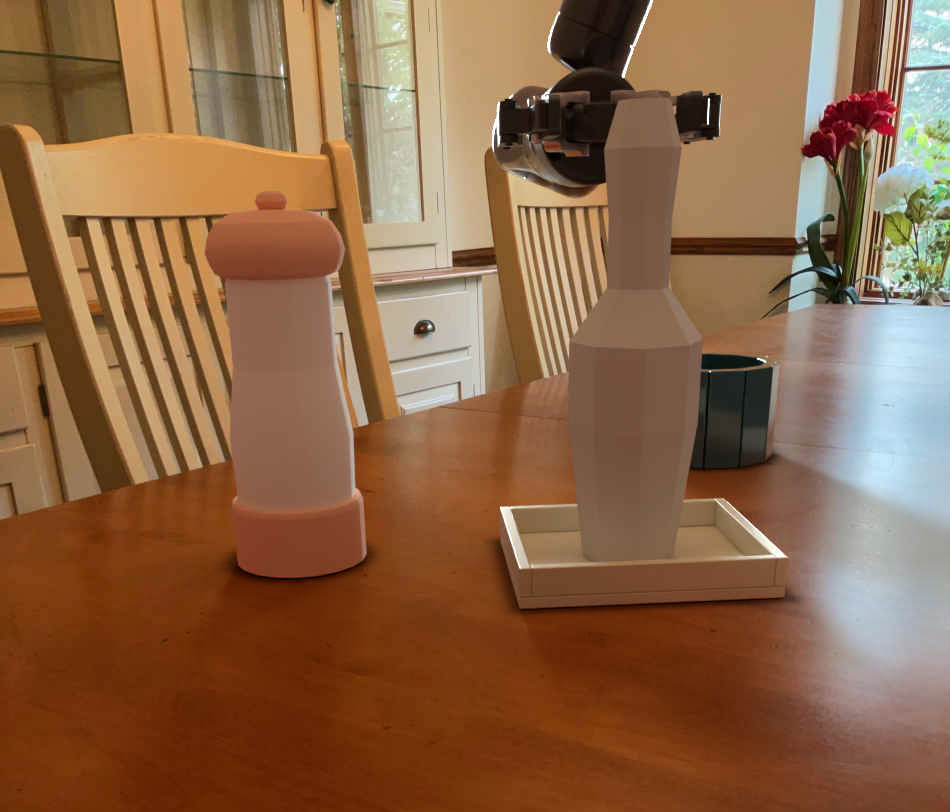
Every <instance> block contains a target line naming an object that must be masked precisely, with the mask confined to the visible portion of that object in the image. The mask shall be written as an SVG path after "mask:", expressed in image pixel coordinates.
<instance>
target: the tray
mask: <svg viewBox="0 0 950 812" xmlns="http://www.w3.org/2000/svg"><path fill="white" fill-rule="evenodd" d="M499 541H500V545H501V549H502V552H503V554H504V555H503V556H504V559H505V563H506V567H507V570H508V574H509V576H510V579H511V584H512V587H513V591H514V594H515V598H516V601H517V604H518V608H519V609H520V610H527V609H528V610H529V609H553V608H572V607H573V608H575V607H597V606H617V605H620V606H621V605H645V604H665V603H687V602H688V603H689V602H691V603H692V602H708V601H709V602H711V601H712V602H713V601H735V600H757V599H779V598H785V594H786V585H787V584H786V583H787V575H788V573H787V572H788V563H789V557H788V556H787V555H786V554H785V553H784V552H782V550H780V549H779V547H777V546H776V545H775V544H774V543H773V542H772V541H770V540H769V539H768V538H767V537H766V536H765V535H764V534H763V533H762V532H761V531H759V529H758V528H756V527H755V526H754V524H752V523H751V522H750V521H749V520H748V519H747V518H746V517H745V516H744V515H743V514H741V513H740V512H739V511H738V510H737V509H736V508H735V507H734V506H732V504H730V502H728V501H727V500H726V499H725V498H724V497H718V498H717V497H715V498H690V499H683V505H682V510H681V516H680V521H679V526H678V532H677V537H676V543H675V548H674V554H673V555H672V556H671V557H670V558H669V559H659V560H635V561H611V562H593V561H591V560H589V559H587V558H585V557H583V553H582V544H581V535H580V526H579V518H578V509H577V503H559V504H537V505H536V504H535V505H533V504H532V505H511V506H509V505H508V506H507V505H506V506H500V507H499Z"/></svg>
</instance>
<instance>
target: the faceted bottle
mask: <svg viewBox="0 0 950 812" xmlns="http://www.w3.org/2000/svg"><path fill="white" fill-rule="evenodd" d="M674 110H675V109H674V106H672V101H671V99H667V98H636V99H626V100H620V101H618V104H617V107H616V110H615V114H614V117H613V121H612V124H611V128H610V131H609V135H608V138H607V141H606V145H605V148H604V155H605V170H606V183H605V184H606V198H607V199H606V201H607V214H608V224H607V225H608V226H607V227H608V229H607V265H606V266H607V268H606V269H607V270H606V289H605V290H604V291H603V293H602V295H601V296H600V297H599V299H597V301H596V303H595V304H594V306H593V307H592V309H591V310H590V311H589V312H588V314H587V315H586V317H585V319H584V320H583V321H582V323H581V324H580V326H579V327H578V329H577V330H576V332H575V333H574V334H573V336H572V337H571V338H570V340H569V341H568V396H567V397H568V398H567V399H568V402H567V403H568V404H567V409H568V410H567V425H568V427H567V429H568V437H569V444H570V445H569V446H570V454H571V455H570V456H571V463H572V472H573V480H574V481H573V482H574V489H575V490H574V491H575V500H576V504H577V509H578V518H579V526H580V535H581V544H582V553H583V557H585V558H587V559H589V560H591V561H593V562H611V561H635V560H659V559H669V558H670V557H671V556H672V555H673V554H674V548H675V543H676V537H677V532H678V526H679V521H680V516H681V510H682V505H683V500H685V499H684V498H685V494H686V489H687V484H688V477H689V471H690V468H689V467H690V462H691V456H692V451H693V445H694V440H695V435H696V429H697V424H698V410H699V394H700V377H701V360H702V352H703V343H704V341H703V340H704V338H703V337H702V335H701V334H700V332H699V331H698V329H697V328H696V326H695V324H694V322H692V320H691V318H690V316H689V315H688V314H687V312H686V311H685V309H684V308H683V306H682V305H681V303H680V302H679V300H678V298H677V297H676V295H675V294H674V292H673V291H672V290H671V288H670V272H671V253H672V252H671V250H672V231H673V229H672V228H673V216H674V215H673V213H674V207H675V200H676V193H677V186H678V185H677V184H678V178H679V172H680V171H679V170H680V165H681V157H682V150H683V147H682V142H680V137H679V133H678V128H677V124H676V119H675V115H674V114H675V111H674Z"/></svg>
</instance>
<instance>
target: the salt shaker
mask: <svg viewBox="0 0 950 812" xmlns="http://www.w3.org/2000/svg"><path fill="white" fill-rule="evenodd" d="M254 204H255V206H256V208H257V209H253V210H244V211H235V212H231V213H229V214H226V215H225V216H224V217H221V219H218V220H217V221H215V222H213V224H212V226H211V229H210V231H209V233H208V235H207V237H206V241H205V248H204V256H205V258H206V261H207V264H208V265H209V268H210V269H211V270H212V272H213V274H214V275H215V276H217V277H221V278H223V279H225V282H224V290H225V291H224V292H225V300H226V308H227V309H226V311H227V321H228V331H229V340H230V350H231V361H232V373H231V374H232V375H231V377H232V379H231V398H230V399H231V400H230V419H229V420H230V421H229V422H230V423H229V444H230V451H231V459H232V466H233V473H234V479H235V487H236V494H237V495H236V496H235V497H233V498H232V501H231V503H230V504H231V515H232V523H233V533H234V540H235V549H236V551H235V552H236V559H237V566H238V567H239V568H241V569H242V570H243V571H244V572H246V573H250V574H252V575H256V576H261V577H268V578H277V579H280V578H281V579H282V578H283V579H284V578H285V579H287V578H288V579H298V578H309V577H319V576H324V575H329V574H334V573H338V572H341V571H344V570H347V569H350V568H353V567H355V566H357V565H358V564H360V563H361V562H363V561H364V559H365V558H366V556H367V551H368V550H367V539H366V538H367V537H366V536H367V535H366V521H365V520H366V519H365V506H364V497H363V495H362V493H361V491H360V490H359V489H358V488H357V487H356V472H355V471H356V470H355V469H356V467H355V445H354V444H355V443H354V442H355V441H354V430H353V425H352V421H351V417H350V411H349V407H348V402H347V399H346V394H345V388H344V385H343V380H342V376H341V370H340V368H339V367H340V365H339V363H338V349H337V348H338V347H337V337H336V325H335V324H336V322H335V313H334V299H333V286H332V285H333V284H332V280H331V278H330V275H332V274H334V273H336V272H338V271H340V269H341V267H342V264H343V261H344V257H345V253H346V246H345V244H344V240H343V237H342V234H341V233H340V231H339V230H338V228H337V226H336V225H335V223H333V221H332V220H331V219H329V218H327V217H325V216H323V215H321V214H319V213H317V212H315V211H313V210H305V209H291V208H287V205H288V199H287V197H286V195H285V194H284V193H282V192H280V191H278V190H267V191H264V190H263V191H261V192H259V193H258V194H256V196H255V199H254Z"/></svg>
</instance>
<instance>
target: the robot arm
mask: <svg viewBox="0 0 950 812" xmlns="http://www.w3.org/2000/svg"><path fill="white" fill-rule="evenodd" d="M653 1H654V0H561V2H560V4H559V8H558V11H557V13H558V14H557V15H556V17H555V18H554V22H553V25H552V27H551V30H550V34H549V36H548V42H547V48H548V49H547V50H548V52H549V55H550V56H551V57H552V58H553V59H554V61H556V62H557V63H558V64H560V66H561V67H563V68H565V69H566V70H568V71H569V73H568V74H566V75H565V76H563V77H562V78H561V79H559V80H558V81H557V82H555V83H554V84H553V85H551V87H544V86H538V85H527V86H524V87H521V88H519V89H518V90H516V91H515V92H514V93H512V95H511V96H509V98H504V99H503V100H500V101H498V104H497V108H496V112H497V113H496V119H495V122H494V125H493V130H492V137H491V147H492V153H493V157H494V160H495V161H496V164H497V165H499V167H500V168H501V169H502V170H504V171H505V172H507V173H509V174H511V175H513V176H515V177H518V178H520V179H523V180H525V181H528V182H530V183H533V184H536V185H538V186H540V187H542V188H545V189H548V190H550V191H552V192H554V193H556V194H559V195H561V196H564V197H565V198H566V197H567V198H570V199H573V200H574V199H575V200H579V199H583V198H585V197H587V196H589V195H590V194H592V193H593V192H595V190H597V188H598V187H599V186H601V185H603V184H606V170H605V155H604V148H605V145H606V141H607V138H608V135H609V131H610V128H611V124H612V121H613V117H614V114H615V110H616V107H617V104H618V101H620V100H626V99H636V98H667V99H671V101H672V106H673V107H675V113H674V115H675V119H676V124H677V128H678V133H679V137H680V142H681V143H682V144H683V145H691V144H692V143H695V142H700V141H714V140H715V139H717V138H720V137H721V128H720V125H721V124H720V120H721V105H722V102H723V101H722V97H723V95H722V94H717V92H708V93H707V95H704V94H703V91H702V90H689V91H687V92H683V93H682V94H679V95H672V94H671V92H670V91H669V90H666V89H665V90H663V89H650V90H649V89H648V90H643V91H637V90H636V89H635V88H634V86H633V85H632V84H631V83H630V82H629V81H628V80H627V79H626V78H625V76H626V75H625V74H626V71H627V68H628V65H629V62H630V59H631V57H632V54H633V51H634V47H635V46H636V44H637V42H638V39H639V36H640V34H641V31H642V29H643V26H644V24H645V21H646V19H647V17H648V13H649V11H650V9H651V7H652V3H653Z"/></svg>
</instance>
